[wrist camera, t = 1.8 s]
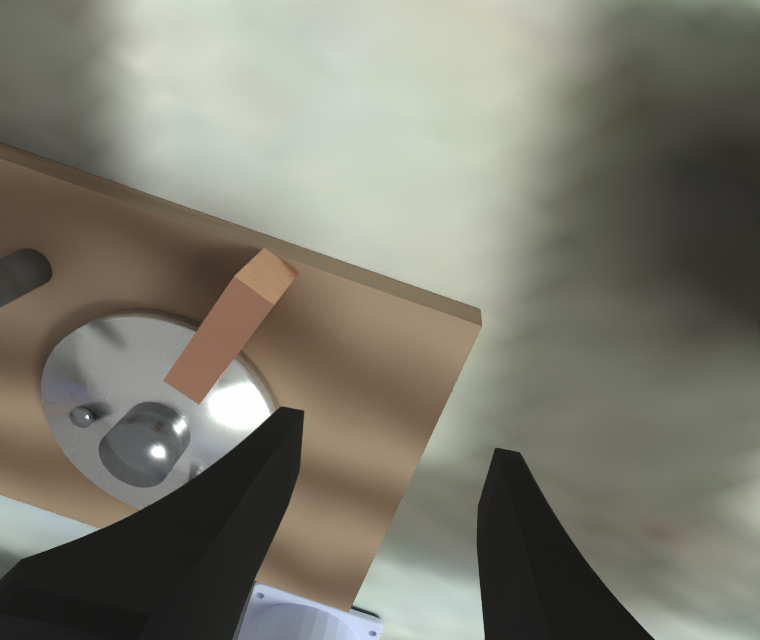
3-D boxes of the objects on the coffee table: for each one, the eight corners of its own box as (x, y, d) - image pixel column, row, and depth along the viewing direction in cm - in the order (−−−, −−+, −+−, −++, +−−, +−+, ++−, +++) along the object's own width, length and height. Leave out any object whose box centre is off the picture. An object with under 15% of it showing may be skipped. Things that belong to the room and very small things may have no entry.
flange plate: (213, 537, 27) (186, 588, 25) (25, 420, 26) (-26, 461, 23) (394, 344, 21) (384, 385, 18) (158, 167, 19) (109, 184, 16)
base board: (353, 588, 30) (335, 678, 26) (-28, 459, 30) (-113, 528, 25) (480, 309, 21) (485, 374, 17) (-56, 123, 21) (-193, 139, 17)
